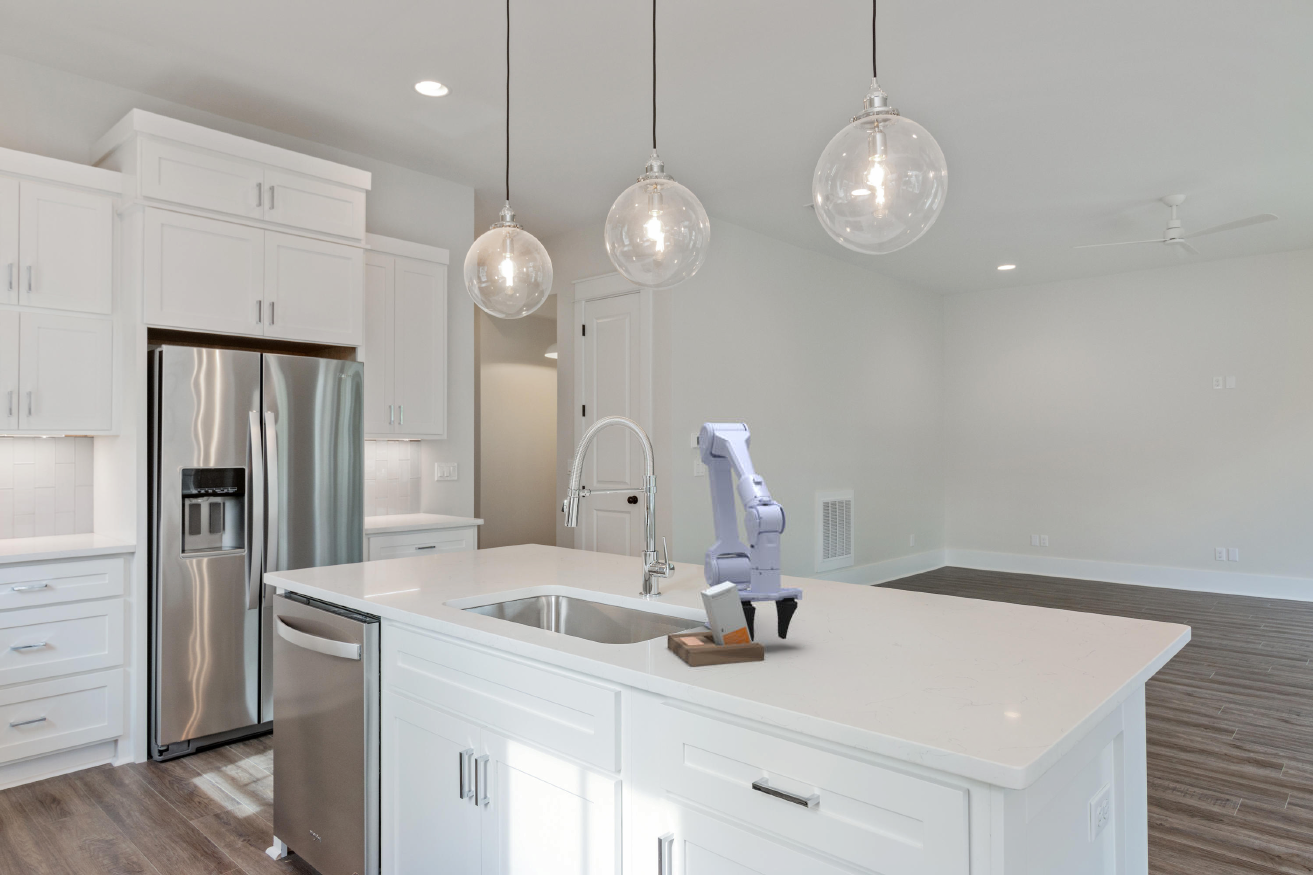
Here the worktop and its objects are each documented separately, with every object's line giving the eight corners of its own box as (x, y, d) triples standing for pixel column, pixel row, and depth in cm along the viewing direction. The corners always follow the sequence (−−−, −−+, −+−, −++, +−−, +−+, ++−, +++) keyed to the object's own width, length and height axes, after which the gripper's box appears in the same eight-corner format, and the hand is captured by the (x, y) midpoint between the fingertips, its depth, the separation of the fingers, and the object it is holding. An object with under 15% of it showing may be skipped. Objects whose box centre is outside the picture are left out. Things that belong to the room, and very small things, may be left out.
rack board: (667, 647, 151) (667, 633, 151) (735, 642, 155) (734, 628, 155) (691, 666, 137) (691, 651, 137) (764, 660, 141) (764, 645, 141)
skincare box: (725, 656, 144) (707, 595, 143) (716, 650, 148) (699, 591, 147) (754, 644, 146) (736, 583, 145) (744, 638, 150) (727, 580, 149)
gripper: (738, 572, 143) (738, 646, 143) (809, 568, 148) (810, 640, 147) (724, 567, 150) (724, 638, 150) (792, 563, 154) (793, 632, 154)
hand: (766, 639), depth 149 cm, fingers open, 6 cm apart
